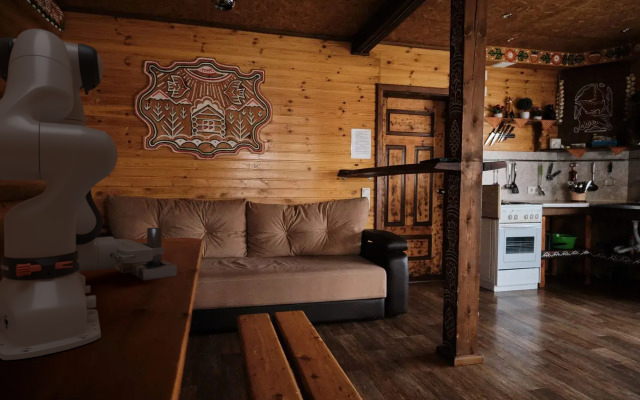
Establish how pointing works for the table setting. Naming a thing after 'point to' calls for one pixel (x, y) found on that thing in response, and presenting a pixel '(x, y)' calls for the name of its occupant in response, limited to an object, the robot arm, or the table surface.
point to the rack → (125, 267)
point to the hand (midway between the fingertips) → (157, 247)
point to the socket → (154, 271)
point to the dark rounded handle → (154, 245)
